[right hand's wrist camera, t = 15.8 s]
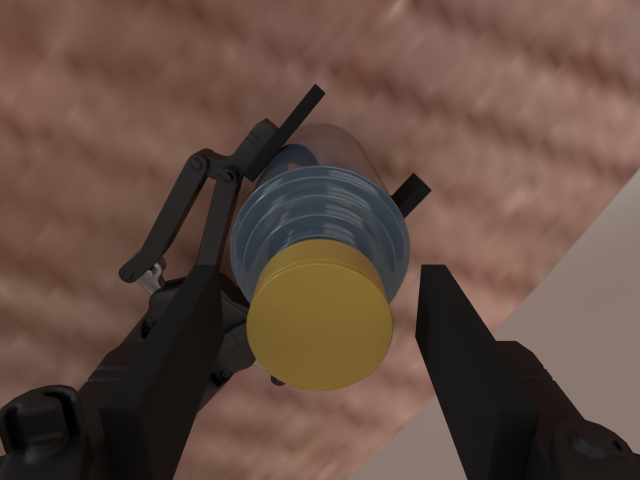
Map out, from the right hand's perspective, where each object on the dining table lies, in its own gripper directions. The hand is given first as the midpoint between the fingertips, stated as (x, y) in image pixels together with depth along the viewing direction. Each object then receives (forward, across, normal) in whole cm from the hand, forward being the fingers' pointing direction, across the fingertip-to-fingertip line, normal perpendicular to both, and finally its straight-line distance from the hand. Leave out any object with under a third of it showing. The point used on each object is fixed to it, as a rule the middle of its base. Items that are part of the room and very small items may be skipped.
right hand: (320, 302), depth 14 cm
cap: (-1, 0, 0) cm, 1 cm away
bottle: (+20, 0, 0) cm, 20 cm away
